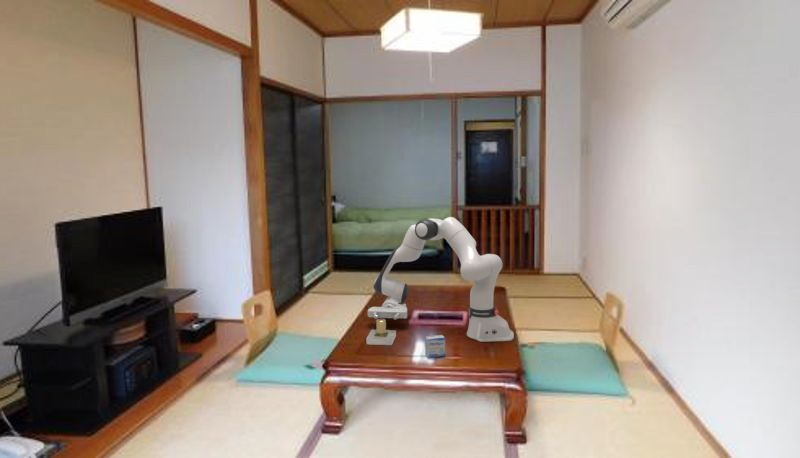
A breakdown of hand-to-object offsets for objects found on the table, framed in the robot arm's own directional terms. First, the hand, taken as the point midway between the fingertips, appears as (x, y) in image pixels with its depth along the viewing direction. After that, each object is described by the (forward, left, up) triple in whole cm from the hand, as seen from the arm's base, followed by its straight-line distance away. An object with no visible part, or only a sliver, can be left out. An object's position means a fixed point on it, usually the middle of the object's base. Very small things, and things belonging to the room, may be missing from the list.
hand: (385, 317), depth 271 cm
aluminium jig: (0, +11, -8) cm, 13 cm away
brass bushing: (0, +11, -8) cm, 13 cm away
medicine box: (-27, +27, -8) cm, 39 cm away
